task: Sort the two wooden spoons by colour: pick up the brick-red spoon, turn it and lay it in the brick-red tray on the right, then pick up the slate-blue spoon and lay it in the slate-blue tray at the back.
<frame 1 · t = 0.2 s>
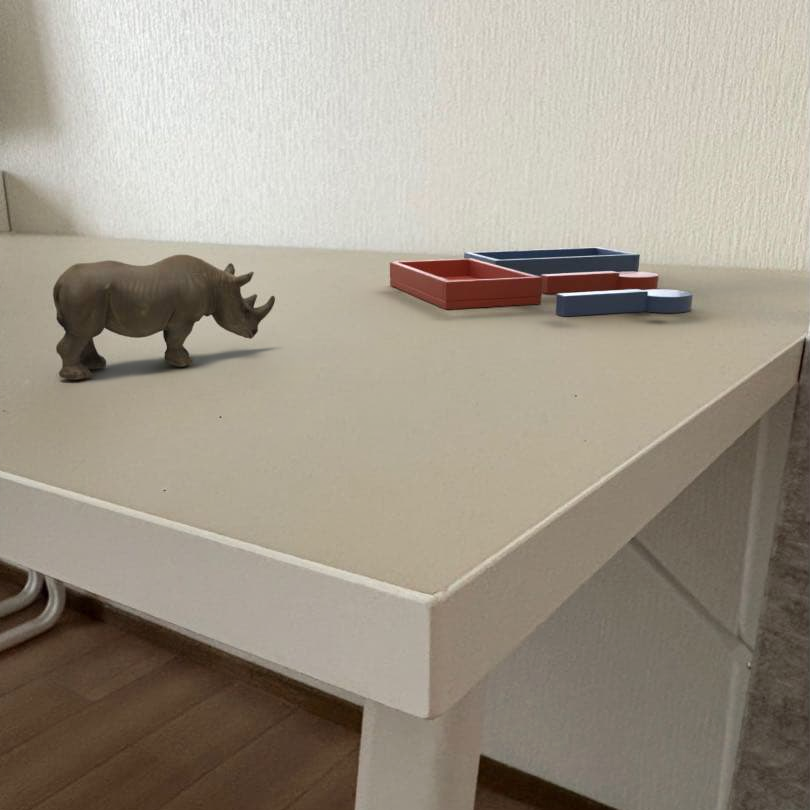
blue tray: (549, 275, 88), on the table
rhino figurine: (176, 365, 52), on the table
red spoon: (594, 290, 78), on the table
blue spoon: (618, 311, 67), on the table
red tray: (460, 294, 76), on the table
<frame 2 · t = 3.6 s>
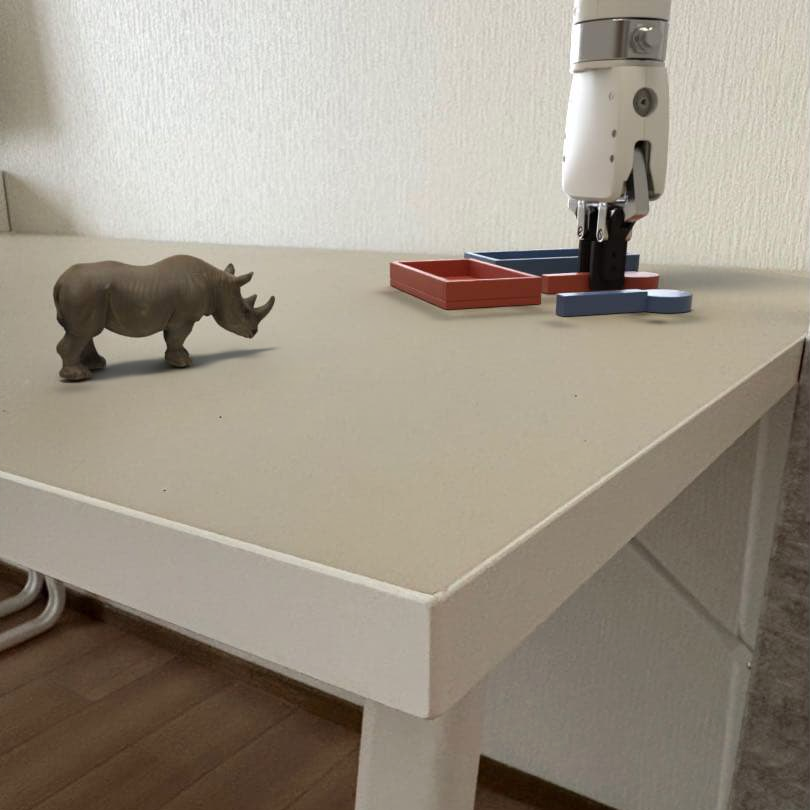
hand: (599, 286, 78), 0 cm above the table, tool pointing down, fingers closed on red spoon, 1 cm apart
red spoon: (595, 290, 78), on the table, touching gripper
everything else where it was.
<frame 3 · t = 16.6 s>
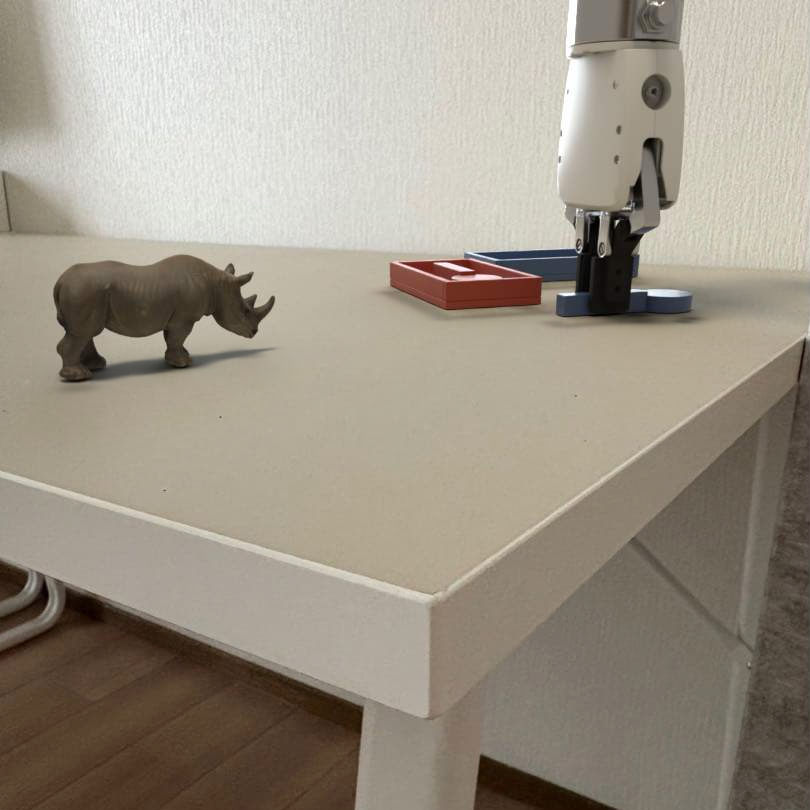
hand: (601, 308, 67), 0 cm above the table, tool pointing down, fingers closed on blue spoon, 1 cm apart
red spoon: (459, 286, 76), point 1 cm above the table, touching red tray
blue spoon: (618, 311, 67), on the table, touching gripper
everything else where it was.
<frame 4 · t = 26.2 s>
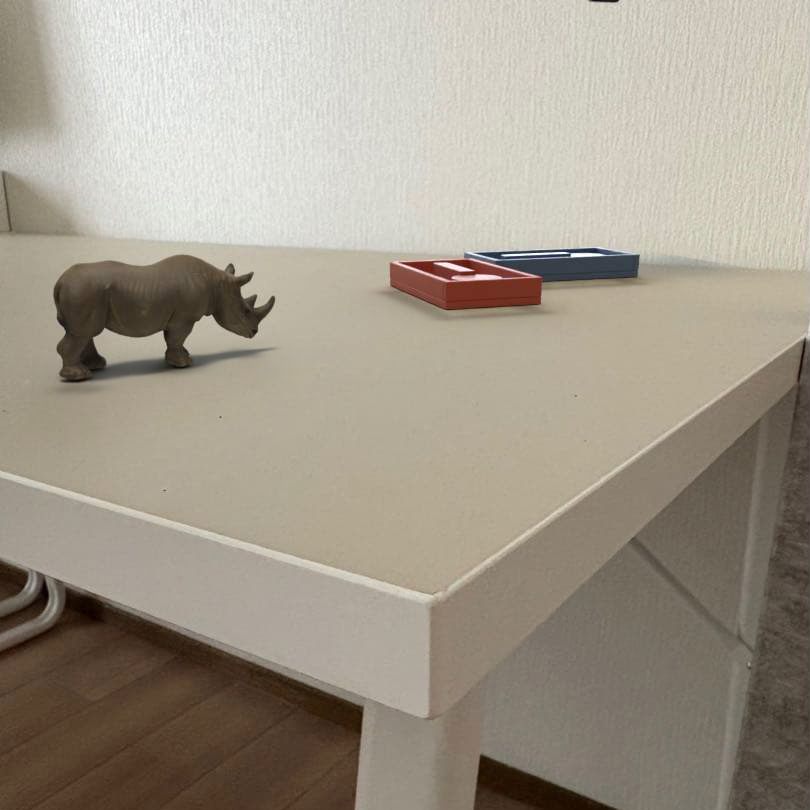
blue spoon: (548, 269, 88), point 1 cm above the table, touching blue tray
everything else where it was.
at the end: red spoon inside the target area in the red tray (0.3 cm from its centre), point 0.6 cm above the red tray's base; blue spoon inside the target area in the blue tray (0.1 cm from its centre), point 0.6 cm above the blue tray's base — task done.
